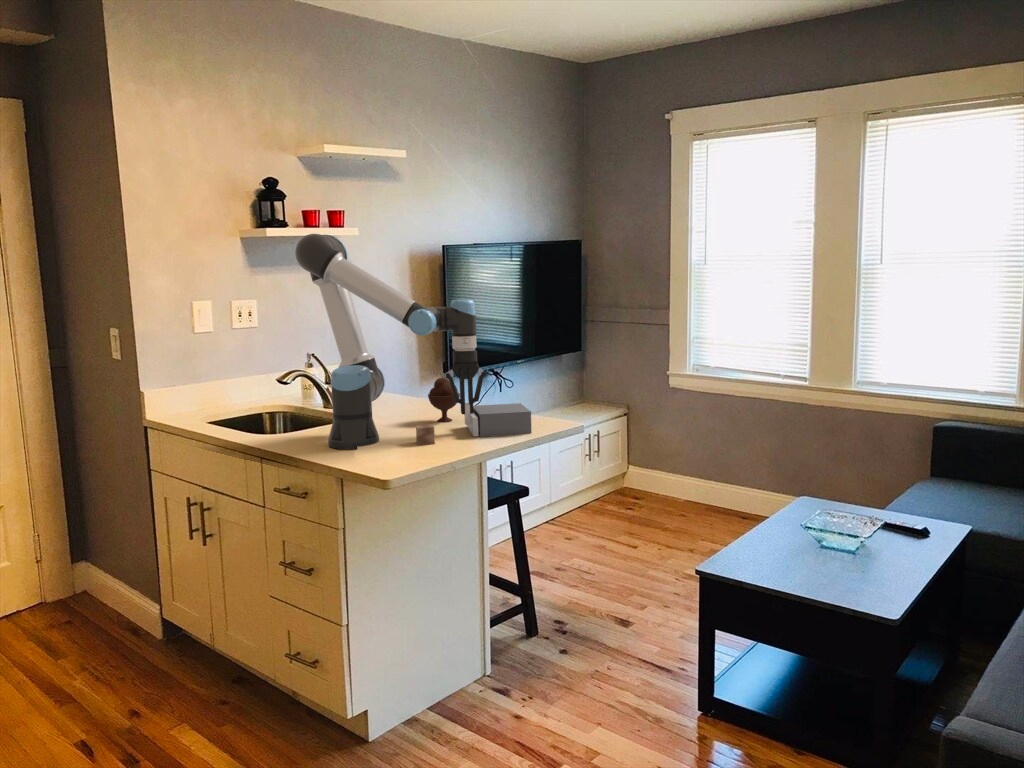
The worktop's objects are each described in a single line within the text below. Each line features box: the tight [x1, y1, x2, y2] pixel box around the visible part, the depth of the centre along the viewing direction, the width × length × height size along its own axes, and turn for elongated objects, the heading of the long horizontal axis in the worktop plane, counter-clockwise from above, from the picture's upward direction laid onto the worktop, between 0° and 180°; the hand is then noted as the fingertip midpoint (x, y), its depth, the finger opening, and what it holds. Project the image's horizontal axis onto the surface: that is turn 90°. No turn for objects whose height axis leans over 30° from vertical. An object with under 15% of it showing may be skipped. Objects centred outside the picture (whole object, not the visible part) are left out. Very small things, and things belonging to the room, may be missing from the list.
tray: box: [466, 412, 480, 437], centre depth 262 cm, size 16×17×6 cm
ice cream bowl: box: [427, 377, 460, 424], centre depth 279 cm, size 11×11×15 cm
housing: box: [473, 402, 532, 438], centre depth 262 cm, size 16×17×7 cm
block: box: [415, 423, 436, 446], centre depth 246 cm, size 5×5×5 cm
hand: (467, 424), depth 260 cm, fingers closed
